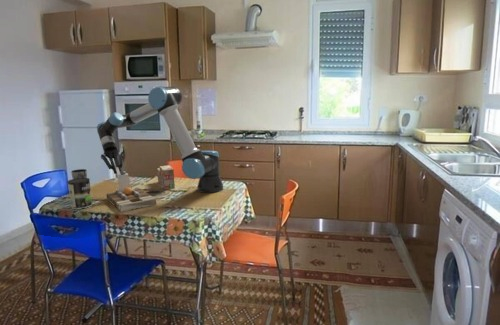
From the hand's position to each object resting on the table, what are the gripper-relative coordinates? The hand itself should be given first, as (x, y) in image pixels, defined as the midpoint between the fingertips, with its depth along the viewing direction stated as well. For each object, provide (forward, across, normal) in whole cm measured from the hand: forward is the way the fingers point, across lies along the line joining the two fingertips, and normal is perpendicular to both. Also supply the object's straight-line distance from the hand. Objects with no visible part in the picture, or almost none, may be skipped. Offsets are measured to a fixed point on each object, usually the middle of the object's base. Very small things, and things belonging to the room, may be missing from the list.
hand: (119, 177), depth 209 cm
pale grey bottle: (+10, -1, 0) cm, 10 cm away
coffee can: (+13, +22, -2) cm, 26 cm away
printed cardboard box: (+5, -29, -11) cm, 31 cm away
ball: (+13, -1, +5) cm, 14 cm away
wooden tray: (+20, -1, +5) cm, 20 cm away
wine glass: (-1, +18, -16) cm, 25 cm away
